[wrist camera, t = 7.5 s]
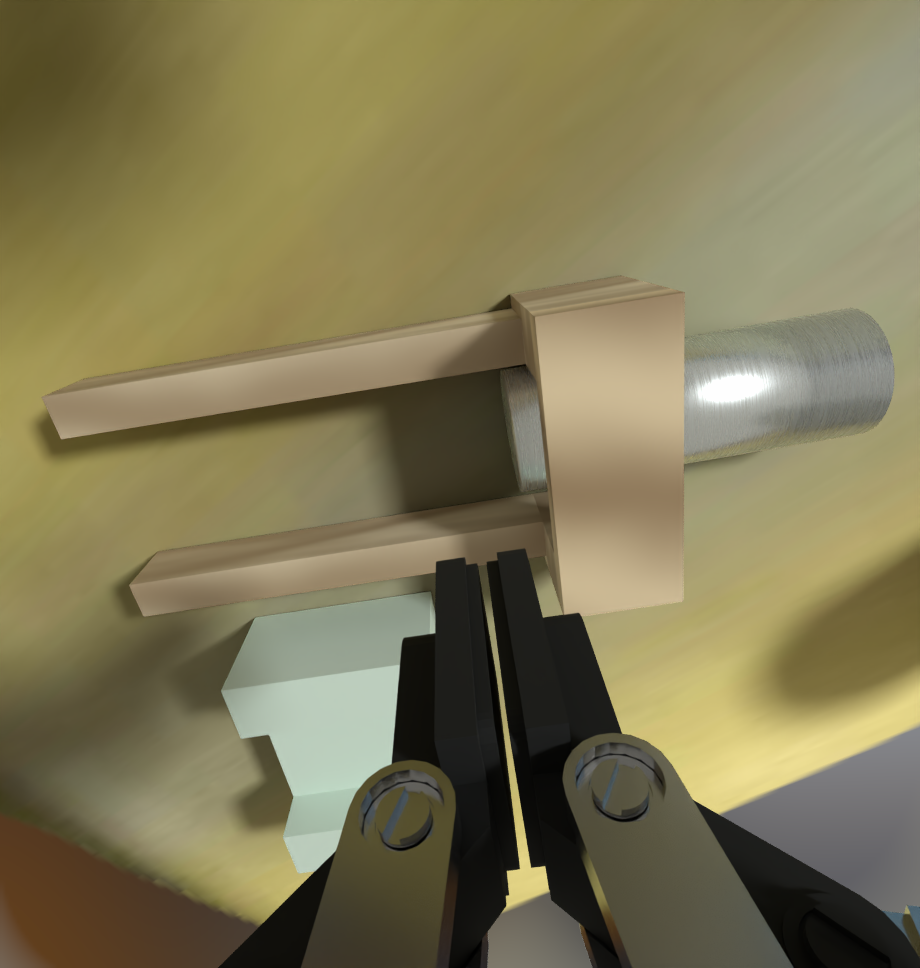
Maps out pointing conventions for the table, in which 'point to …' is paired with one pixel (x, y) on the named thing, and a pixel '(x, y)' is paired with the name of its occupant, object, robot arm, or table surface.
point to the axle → (748, 389)
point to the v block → (325, 705)
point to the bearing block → (469, 527)
